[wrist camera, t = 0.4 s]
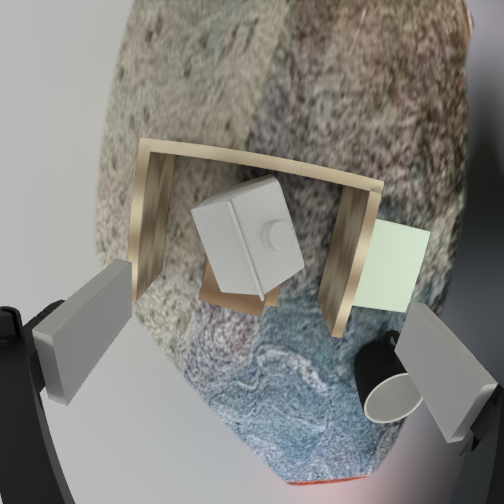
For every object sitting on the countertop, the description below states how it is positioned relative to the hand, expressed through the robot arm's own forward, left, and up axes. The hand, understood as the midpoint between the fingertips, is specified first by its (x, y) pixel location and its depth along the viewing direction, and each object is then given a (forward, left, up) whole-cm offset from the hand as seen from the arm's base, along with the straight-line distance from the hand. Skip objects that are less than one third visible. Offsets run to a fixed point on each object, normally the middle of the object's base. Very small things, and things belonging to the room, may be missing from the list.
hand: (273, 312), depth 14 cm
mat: (+4, +16, -26) cm, 31 cm away
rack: (+1, -2, -26) cm, 26 cm away
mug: (+17, +20, -27) cm, 38 cm away
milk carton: (0, -2, -27) cm, 27 cm away
